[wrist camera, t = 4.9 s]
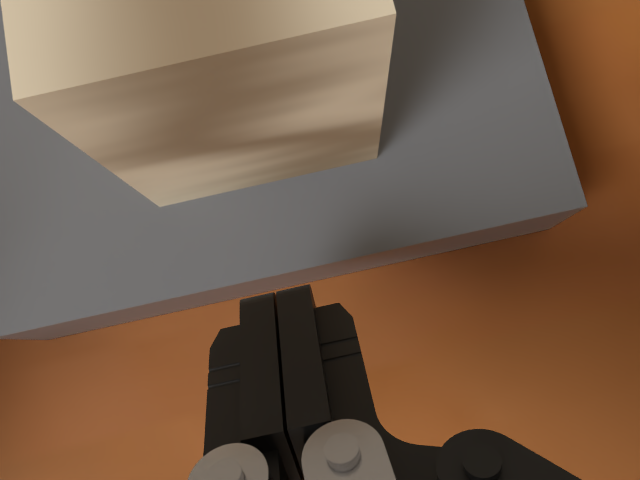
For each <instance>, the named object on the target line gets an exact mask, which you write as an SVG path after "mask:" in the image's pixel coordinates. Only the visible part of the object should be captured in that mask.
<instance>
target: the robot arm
mask: <svg viewBox="0 0 640 480" xmlns="http://www.w3.org/2000/svg"><path fill="white" fill-rule="evenodd" d="M188 480H581V479H579V478H578V477H576V476H574V475H572V474H571V473H569V472H567V471H566V470H564V469H562V468H560V467H559V466H557V465H555V464H553V463H552V462H550V461H548V460H547V459H545V458H543V457H541V456H540V455H538V454H536V453H534V452H533V451H531V450H529V449H528V448H526V447H524V446H522V445H521V444H519V443H517V442H515V441H514V440H512V439H510V438H508V437H507V436H505V435H503V434H501V433H498V432H495V431H491V430H486V429H472V430H467V431H463V432H460V433H458V434H456V435H454V436H453V437H451V438H450V439H449V440H448V441H447V442H446V443H445V444H444V445H443V446H442V447H435V446H424V445H415V444H410V443H407V442H404V441H401V440H399V439H397V438H395V437H394V436H392V435H391V434H390V433H388V432H387V431H386V430H385V429H384V428H383V426H382V425H381V424H380V422H379V420H378V418H377V415H376V412H375V408H374V404H373V399H372V395H371V391H370V387H369V383H368V379H367V375H366V370H365V366H364V362H363V358H362V354H361V350H360V346H359V341H358V337H357V333H356V329H355V325H354V321H353V317H352V316H351V315H350V314H349V313H348V312H347V311H346V310H345V309H344V308H343V307H342V305H341V304H340V303H335V304H331V305H326V306H322V307H317V308H316V306H315V302H314V298H313V294H312V290H311V287H310V284H309V285H304V286H300V287H295V288H291V289H286V290H282V291H277V292H276V295H275V293H269V294H265V295H260V296H256V297H251V298H247V299H242V300H240V325H237V326H232V327H228V328H223V329H220V331H219V333H218V335H217V337H216V338H215V340H214V342H213V344H212V346H211V348H210V355H209V373H208V390H207V406H206V423H205V440H204V453H203V458H201V459H200V460H199V461H198V463H197V464H196V465H195V466H194V468H193V470H192V471H191V473H190V475H189V478H188Z"/></svg>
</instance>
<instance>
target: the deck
mask: <svg viewBox="0 0 640 480" xmlns="http://www.w3.org/2000/svg"><path fill="white" fill-rule="evenodd" d="M393 2H394V6H395V10H396V20H395V28H394V35H393V43H392V50H391V58H390V65H389V73H388V80H387V88H386V95H385V103H384V110H383V118H382V125H381V133H380V140H379V148H378V155H377V158H376V159H372V160H367V161H363V162H359V163H354V164H350V165H345V166H341V167H336V168H332V169H327V170H323V171H318V172H314V173H309V174H305V175H300V176H296V177H292V178H287V179H283V180H278V181H274V182H269V183H265V184H260V185H256V186H251V187H247V188H242V189H238V190H233V191H229V192H225V193H220V194H216V195H211V196H207V197H202V198H198V199H193V200H189V201H184V202H180V203H175V204H171V205H166V206H162V207H159V206H158V205H156V204H155V203H153V202H152V201H151V200H149V199H148V198H146V197H145V196H144V195H142V194H141V193H140V192H138V191H137V190H135V189H134V188H133V187H131V186H130V185H129V184H127V183H126V182H124V181H123V180H122V179H120V178H119V177H118V176H116V175H115V174H113V173H112V172H111V171H109V170H108V169H107V168H105V167H104V166H102V165H101V164H100V163H98V162H97V161H96V160H94V159H93V158H91V157H90V156H89V155H87V154H86V153H85V152H83V151H82V150H80V149H79V148H78V147H76V146H75V145H74V144H72V143H71V142H69V141H68V140H67V139H65V138H64V137H63V136H61V135H60V134H58V133H57V132H56V131H54V130H53V129H51V128H50V127H49V126H47V125H46V124H45V123H43V122H42V121H40V120H39V119H38V118H36V117H35V116H34V115H32V114H31V113H29V112H28V111H27V110H25V109H24V108H23V107H21V106H20V105H18V104H17V103H16V102H14V101H13V97H12V89H11V81H10V73H9V65H8V57H7V49H6V41H5V32H4V24H3V16H2V8H1V0H0V339H26V340H50V339H55V338H59V337H64V336H68V335H73V334H77V333H82V332H86V331H91V330H95V329H100V328H104V327H109V326H113V325H118V324H122V323H127V322H131V321H136V320H140V319H145V318H149V317H154V316H158V315H163V314H167V313H172V312H177V311H181V310H186V309H190V308H195V307H199V306H204V305H208V304H213V303H217V302H222V301H226V300H231V299H235V298H240V297H244V296H249V295H253V294H258V293H262V292H267V291H271V290H276V289H280V288H285V287H290V286H294V285H299V284H303V283H308V282H312V281H317V280H321V279H326V278H330V277H335V276H339V275H344V274H348V273H353V272H357V271H362V270H366V269H371V268H375V267H380V266H384V265H389V264H393V263H398V262H402V261H407V260H412V259H416V258H421V257H425V256H430V255H434V254H439V253H443V252H448V251H452V250H457V249H461V248H466V247H470V246H475V245H479V244H484V243H488V242H493V241H497V240H502V239H506V238H511V237H515V236H520V235H525V234H529V233H534V232H538V231H543V230H547V229H550V228H552V227H554V226H555V225H557V224H559V223H560V222H562V221H564V220H565V219H567V218H569V217H570V216H572V215H574V214H575V213H577V212H579V211H581V210H582V209H584V208H586V207H587V202H586V199H585V196H584V193H583V190H582V186H581V183H580V180H579V177H578V173H577V170H576V167H575V164H574V161H573V157H572V154H571V151H570V148H569V145H568V141H567V138H566V135H565V132H564V128H563V125H562V122H561V119H560V116H559V112H558V109H557V106H556V103H555V99H554V96H553V93H552V90H551V87H550V83H549V80H548V77H547V74H546V70H545V67H544V64H543V61H542V58H541V54H540V51H539V48H538V45H537V41H536V38H535V35H534V32H533V29H532V25H531V22H530V19H529V16H528V12H527V9H526V6H525V3H524V0H393Z"/></svg>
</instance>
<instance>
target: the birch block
mask: <svg viewBox="0 0 640 480" xmlns="http://www.w3.org/2000/svg"><path fill="white" fill-rule="evenodd" d="M1 8H2V16H3V24H4V32H5V41H6V49H7V57H8V65H9V73H10V81H11V89H12V97H13V101H14V102H16V103H17V104H18V105H20V106H21V107H23V108H24V109H25V110H27V111H28V112H29V113H31V114H32V115H34V116H35V117H36V118H38V119H39V120H40V121H42V122H43V123H45V124H46V125H47V126H49V127H50V128H51V129H53V130H54V131H56V132H57V133H58V134H60V135H61V136H63V137H64V138H65V139H67V140H68V141H69V142H71V143H72V144H74V145H75V146H76V147H78V148H79V149H80V150H82V151H83V152H85V153H86V154H87V155H89V156H90V157H91V158H93V159H94V160H96V161H97V162H98V163H100V164H101V165H102V166H104V167H105V168H107V169H108V170H109V171H111V172H112V173H113V174H115V175H116V176H118V177H119V178H120V179H122V180H123V181H124V182H126V183H127V184H129V185H130V186H131V187H133V188H134V189H135V190H137V191H138V192H140V193H141V194H142V195H144V196H145V197H146V198H148V199H149V200H151V201H152V202H153V203H155V204H156V205H158V206H159V207H162V206H166V205H171V204H175V203H180V202H184V201H189V200H193V199H198V198H202V197H207V196H211V195H216V194H220V193H225V192H229V191H233V190H238V189H242V188H247V187H251V186H256V185H260V184H265V183H269V182H274V181H278V180H283V179H287V178H292V177H296V176H300V175H305V174H309V173H314V172H318V171H323V170H327V169H332V168H336V167H341V166H345V165H350V164H354V163H359V162H363V161H367V160H372V159H376V158H377V155H378V148H379V140H380V133H381V125H382V118H383V110H384V103H385V95H386V88H387V80H388V73H389V65H390V58H391V50H392V43H393V35H394V28H395V20H396V10H395V6H394V2H393V0H1Z"/></svg>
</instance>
